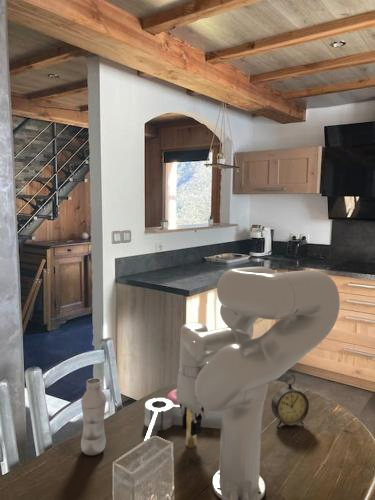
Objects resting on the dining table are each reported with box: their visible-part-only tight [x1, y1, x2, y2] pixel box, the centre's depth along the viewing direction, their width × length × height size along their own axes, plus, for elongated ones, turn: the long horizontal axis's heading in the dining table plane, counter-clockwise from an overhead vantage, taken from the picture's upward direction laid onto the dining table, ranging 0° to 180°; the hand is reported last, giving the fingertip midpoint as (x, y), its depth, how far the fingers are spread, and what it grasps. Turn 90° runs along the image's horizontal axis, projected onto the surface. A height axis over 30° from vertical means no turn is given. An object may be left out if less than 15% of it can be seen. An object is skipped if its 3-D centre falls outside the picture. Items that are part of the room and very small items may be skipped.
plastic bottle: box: [80, 377, 107, 456], centre depth 111 cm, size 6×7×20 cm
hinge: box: [143, 397, 223, 442], centre depth 118 cm, size 24×24×6 cm
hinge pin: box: [185, 408, 198, 449], centre depth 115 cm, size 3×3×11 cm
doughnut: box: [166, 388, 179, 405], centre depth 139 cm, size 11×11×4 cm
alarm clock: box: [271, 374, 310, 429], centre depth 127 cm, size 11×5×16 cm, turn 104°
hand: (191, 430), depth 116 cm, fingers closed on hinge pin, 3 cm apart
